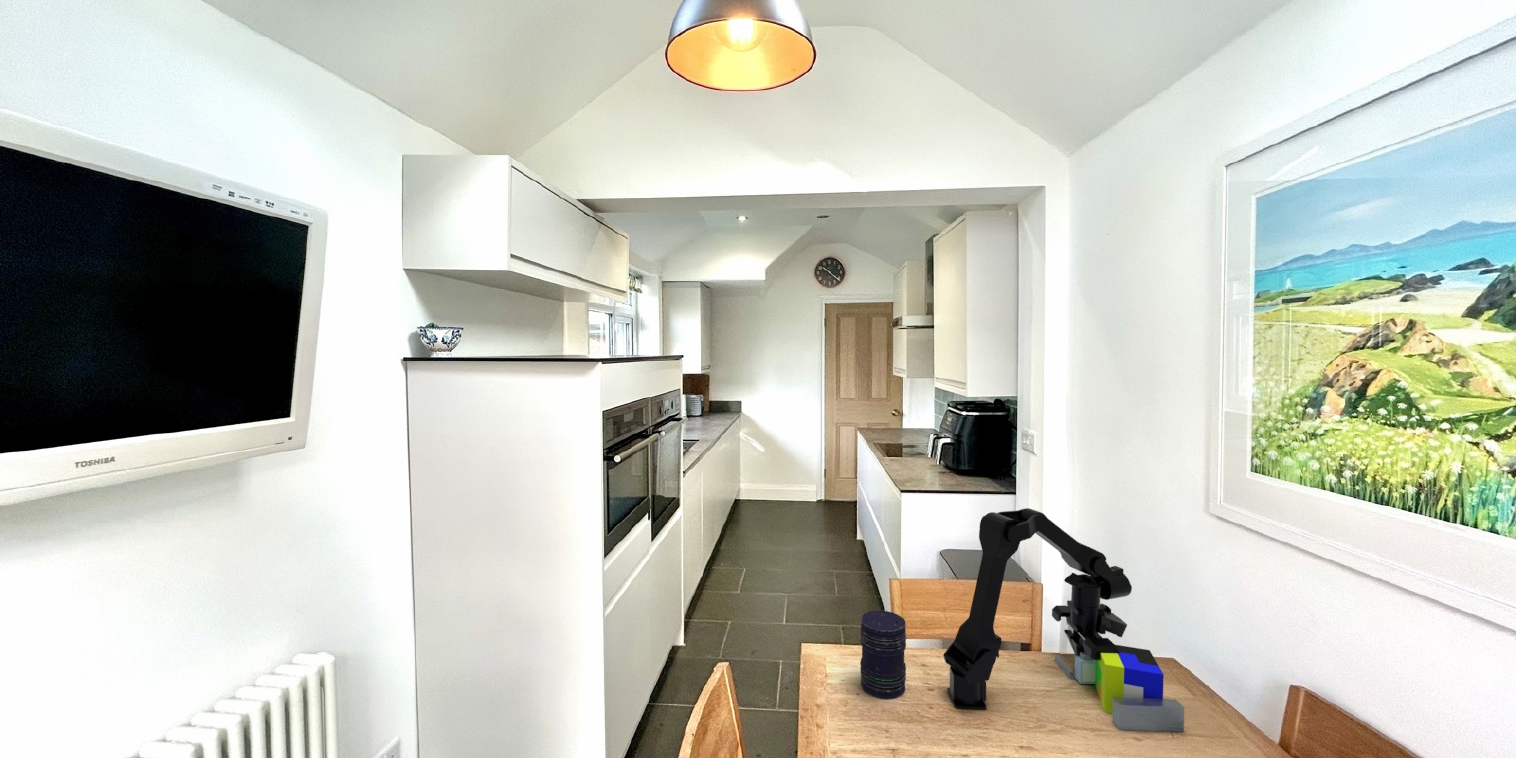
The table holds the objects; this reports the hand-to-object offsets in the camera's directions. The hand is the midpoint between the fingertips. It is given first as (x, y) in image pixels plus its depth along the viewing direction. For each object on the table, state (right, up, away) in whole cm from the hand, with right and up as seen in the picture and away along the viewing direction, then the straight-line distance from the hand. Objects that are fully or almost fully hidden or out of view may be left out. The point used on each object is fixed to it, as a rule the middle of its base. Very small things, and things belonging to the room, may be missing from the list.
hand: (1082, 666), depth 129 cm
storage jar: (-47, -2, -5) cm, 48 cm away
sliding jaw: (+3, -2, -4) cm, 5 cm away
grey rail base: (+3, -2, -8) cm, 8 cm away
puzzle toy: (+3, -2, -11) cm, 12 cm away
